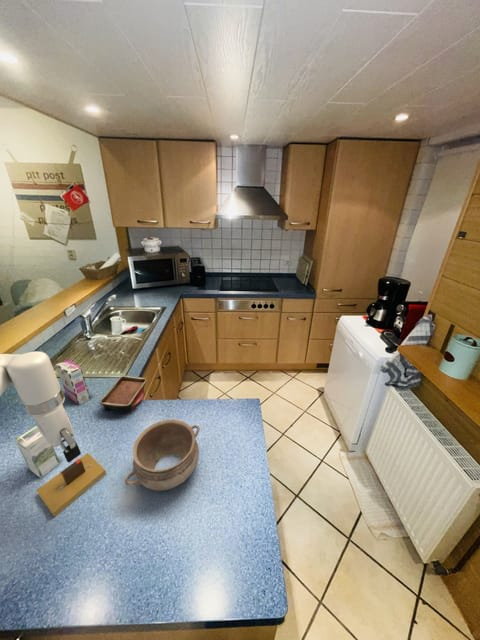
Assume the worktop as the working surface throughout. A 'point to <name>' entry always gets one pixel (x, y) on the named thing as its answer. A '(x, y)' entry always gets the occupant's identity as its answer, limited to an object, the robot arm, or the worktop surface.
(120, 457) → the worktop surface
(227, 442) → the worktop surface
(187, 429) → the cooking pot
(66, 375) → the candy bar box
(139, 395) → the baking dish
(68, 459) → the robot arm
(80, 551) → the worktop surface
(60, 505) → the plate
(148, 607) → the worktop surface
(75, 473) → the lock knob
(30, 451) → the syrup box
